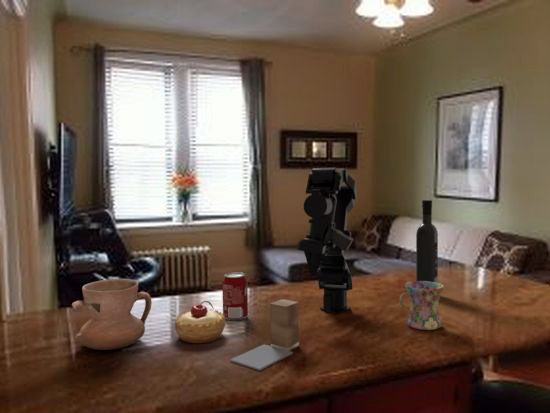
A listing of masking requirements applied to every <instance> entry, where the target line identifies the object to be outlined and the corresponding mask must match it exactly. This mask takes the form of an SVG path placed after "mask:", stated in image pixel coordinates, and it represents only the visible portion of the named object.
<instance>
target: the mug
mask: <svg viewBox="0 0 550 413" xmlns="http://www.w3.org/2000/svg"><path fill="white" fill-rule="evenodd" d="M404 287H405V289H406V292H403V293H401V294H400V295H399V297H398V298H399V300H398V301H399V303H400V305H401V307H402V309H403V310H404V311H405V312H407V313H408V314H409V315H408V317H407V319H406V324H407V325H408V326H409V327H411V328H413V329H416V330H421V331H433V330H437V329H440V328H441V327H442V325H443V324H442V321H441V318H440V315H439V314H440V313H439V303H440V299H441V296H442V295H441V294H442V292H443V290H444V288H445V286H444V285H443V284H442V283H440V282H438V283H436V282H430V281H416V280H413V281H409V282H406V283H404ZM406 295H408V300H409V309H408V308H406V306H405V305H404V302H403V297H404V296H406Z"/></svg>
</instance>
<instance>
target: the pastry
mask: <svg viewBox="0 0 550 413" xmlns="http://www.w3.org/2000/svg"><path fill="white" fill-rule="evenodd" d="M203 303H208V304H209V305H210V307H211V308H212V309H211V308H210V309H208V308H207V307H206V306H205V305H203ZM214 308H215V307H214V306H213V304H212V302H210V301H209V300H204V301H202V302H200V304H193V306H191V307H190V310H189V311H185V312H184V313H180V314H179V315H178V316H177V317H176V318H175V319H174V320H175V321H174V330H175V333H176V335H177V336H178V337H179V339H180V340H181V341H183V342H185V343H189V344H207V343H210V342H214V341H217V340H218V339H220V338H221V335H222V334H223V332H224V329H225V327H226V318H225V316H224V315H223V312H221V311H218V310H213V309H214Z"/></svg>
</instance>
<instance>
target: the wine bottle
mask: <svg viewBox="0 0 550 413" xmlns="http://www.w3.org/2000/svg"><path fill="white" fill-rule="evenodd" d="M421 203H422V204H421V208H422V212H421V213H422V214H421V215H422V223H421V224H420V225H419V226H418V227H417V229H416V233H415V234H416V235H415V237H416V238H415V240H416V241H415V245H416V246H415V248H416V249H415V253H416V254H415V258H416V259H415V264H416V265H415V266H416V268H415V272H416V273H415V276H416V277H415V281H430V282H436V283H439V282H438V281H439V280H438V275H439V272H438V269H439V267H438V266H439V264H438V263H439V262H438V261H439V260H438V256H439V255H438V254H439V250H438V246H439V242H438V240H439V238H438V235H439V234H438V229H437V227H436V225H434V224H433V223H432V222H433V221H432V218H433V217H432V216H433V213H432V212H433V211H432V210H433V200H431V199H429V200H428V199H424V200H421Z"/></svg>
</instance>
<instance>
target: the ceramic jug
mask: <svg viewBox="0 0 550 413" xmlns="http://www.w3.org/2000/svg"><path fill="white" fill-rule="evenodd" d="M138 290H139V281H137V280H136V279H131V278H115V279H114V278H110V279H103V280H98V281H97V280H96V281H93V282H92V281H91V282H90V283H87V284H84V285H83V286H82V288H81V291H82V296H83V300H76V301H74V302H72V304H71V306H72V307H73V309H74V310H76V309H78V308H83V309H85V310H87V311H89V313H90V314H91V316H92V318H90V319H89V320H88V321H87V322H86V323H85V324H84V325H83V326H82V327H81V328H80V329H79V332H78V333H77V335H76V338H77V340H78V342H79V343H81V344H82V345H83V346H85V347H87V348H89V349H92V350H97V351H109V350H111V351H112V350H117V349H122V348H125V347H127V346H131V345H132V344H134V343H136V342H138V341H139V340H140V339H141V338H142V337H143V336H144V334H145V333H146V332H145V331H146V327H145V325H146V321H147V318H148V317H149V314H150V311H151V309H152V303H153V302H152V297H151V295H150V294H149V293H148V292H145V291H140V292H138ZM141 298H143V299H144V302H145V303H144V304H145V305H144V311H143V312H142V316H141V317H140V318H139V317H137V316H135V315H134V314H132V313H131V311H132V309H133V307H134V305H135V303H136V302H137V301H138V300H139V299H141Z"/></svg>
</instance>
